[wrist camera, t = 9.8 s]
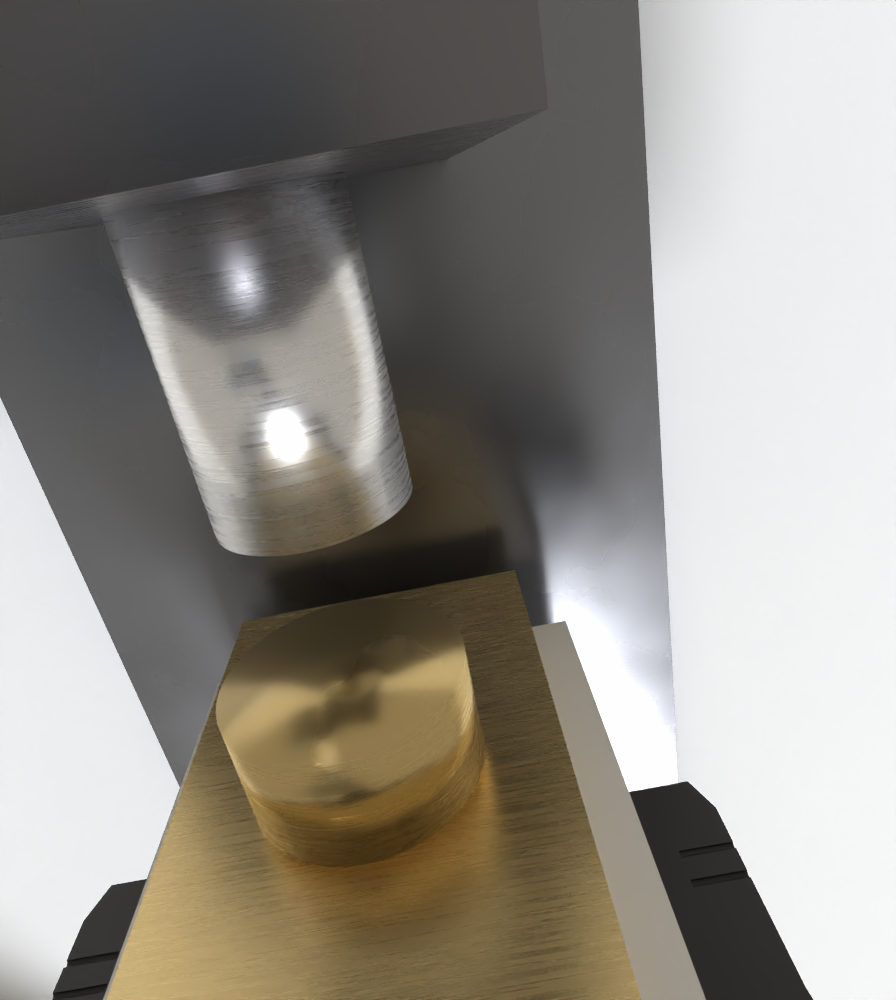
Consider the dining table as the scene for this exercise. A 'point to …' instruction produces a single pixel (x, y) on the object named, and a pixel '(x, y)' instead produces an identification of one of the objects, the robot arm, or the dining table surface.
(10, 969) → the dining table surface
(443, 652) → the gold metallic block
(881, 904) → the dining table surface
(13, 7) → the base
